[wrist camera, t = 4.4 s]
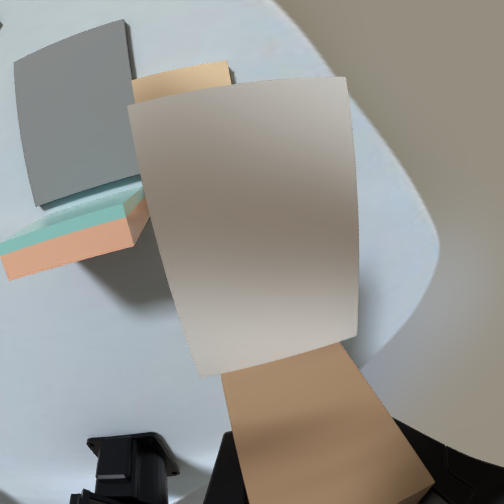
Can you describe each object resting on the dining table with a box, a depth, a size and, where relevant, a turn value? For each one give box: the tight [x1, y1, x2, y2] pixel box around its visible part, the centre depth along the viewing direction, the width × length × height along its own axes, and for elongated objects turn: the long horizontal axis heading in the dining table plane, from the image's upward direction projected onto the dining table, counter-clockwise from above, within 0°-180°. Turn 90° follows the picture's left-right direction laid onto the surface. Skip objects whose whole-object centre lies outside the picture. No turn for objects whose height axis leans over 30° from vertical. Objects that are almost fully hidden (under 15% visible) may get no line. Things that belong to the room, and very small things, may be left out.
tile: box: [0, 186, 150, 281], centre depth 13 cm, size 2×6×6 cm, turn 100°
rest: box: [131, 61, 232, 104], centre depth 15 cm, size 7×5×1 cm
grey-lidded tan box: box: [127, 77, 435, 504], centre depth 5 cm, size 11×4×5 cm, turn 9°
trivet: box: [14, 19, 140, 207], centre depth 14 cm, size 9×7×1 cm
